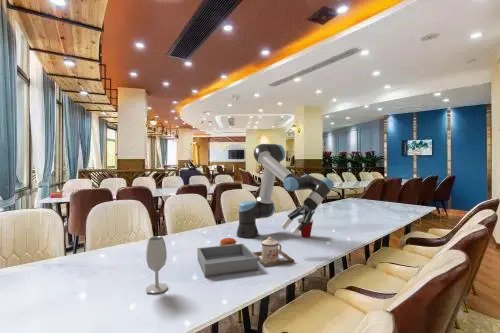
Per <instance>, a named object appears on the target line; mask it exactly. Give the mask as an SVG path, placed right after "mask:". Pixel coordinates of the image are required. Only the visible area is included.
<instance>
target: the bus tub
mask: <svg viewBox="0 0 500 333" xmlns="http://www.w3.org/2000/svg"><path fill="white" fill-rule="evenodd" d="M196 250H197V254H196V255H197V261H198V264H199V265H200V268H201V271H202V273H203V275H204V278H211V277H218V276H226V275H228V276H229V275H235V274H241V273H249V272H254V271H255V272H256V271H259V262H258V258H257V257H256V256H255V255H254V254H253V253H252V251H251V250H250V249H249V248H248V247H247V246H246V245H245V244H244V243H236V244H233V245H223V246H220V245H214V246H206V247H205V246H204V247H198V248H197V249H196Z"/></svg>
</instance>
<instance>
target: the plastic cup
mask: <svg viewBox="0 0 500 333" xmlns="http://www.w3.org/2000/svg"><path fill="white" fill-rule="evenodd" d="M302 218H303V217H299V218H297V221H298V224H299V223H301V221H302ZM314 220H315V219H314V218H311V220H310V223H309V225H308V226H307V225H306V226H304V227H303V228H302V229H301V230H300V236H301V238H303V239H304V238H305V239H309V238H311V233H312V228H313V224H314ZM301 224H302V223H301Z"/></svg>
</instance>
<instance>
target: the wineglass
mask: <svg viewBox="0 0 500 333" xmlns="http://www.w3.org/2000/svg"><path fill="white" fill-rule="evenodd" d="M145 255H146V256H145V259H146V263H147V267H148V268H149V269H150V270H151V271H153V272H154V283H152V284H149V285H148V286H147V287H146V288H145V291H146V294H153V295H154V294H160V293H164V292H165V291H167V290H168V289H169V287H168V284H167V283H164V282H160V281H159V280H160V278H159V271H161V269H163V267H164V266H166V263H167V258H168V256H167V247H166V242H165V239H164V236H159V235H158V236H150V237H149V238H148V240H147V244H146V250H145Z"/></svg>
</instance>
